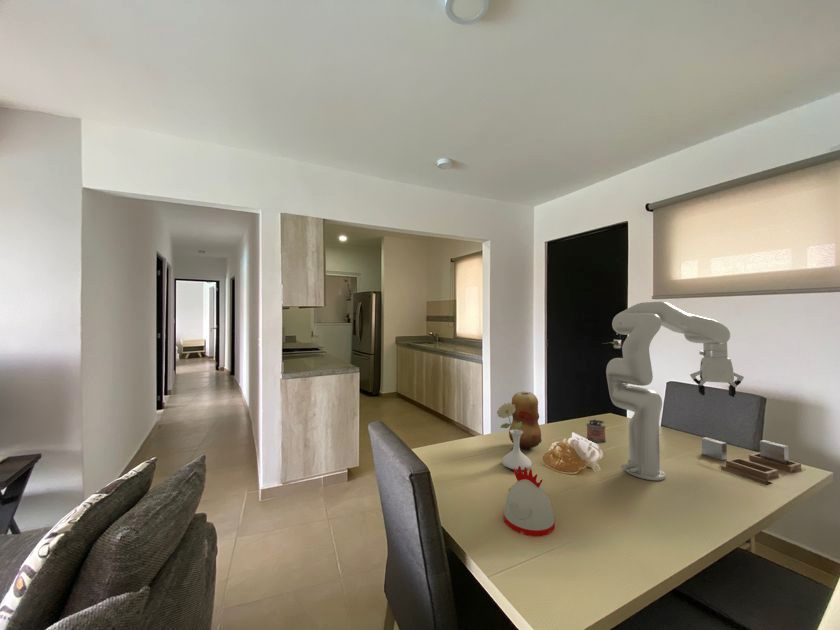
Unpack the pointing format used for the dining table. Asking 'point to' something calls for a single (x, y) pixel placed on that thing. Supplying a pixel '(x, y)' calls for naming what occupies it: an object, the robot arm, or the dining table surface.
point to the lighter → (596, 430)
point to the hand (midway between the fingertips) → (716, 395)
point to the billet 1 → (714, 448)
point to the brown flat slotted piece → (760, 468)
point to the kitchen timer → (528, 506)
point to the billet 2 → (774, 452)
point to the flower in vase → (515, 456)
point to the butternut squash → (526, 419)
